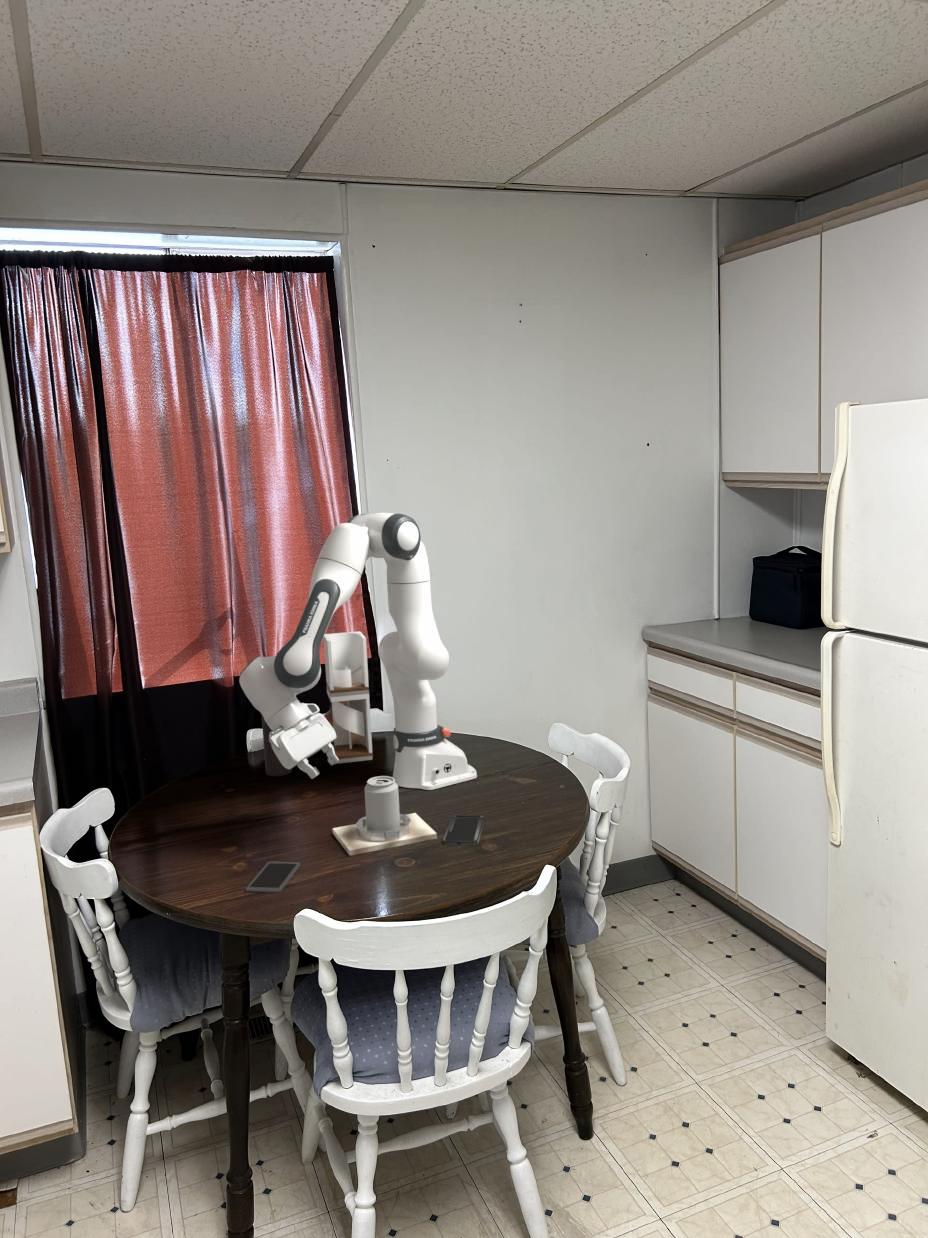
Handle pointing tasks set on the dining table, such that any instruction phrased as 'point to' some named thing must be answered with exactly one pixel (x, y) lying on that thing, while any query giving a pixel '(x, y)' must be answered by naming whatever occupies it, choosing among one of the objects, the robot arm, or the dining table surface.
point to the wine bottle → (271, 755)
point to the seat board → (359, 846)
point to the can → (382, 804)
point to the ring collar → (383, 835)
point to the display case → (349, 695)
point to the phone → (464, 830)
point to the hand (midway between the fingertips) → (326, 769)
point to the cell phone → (273, 877)
